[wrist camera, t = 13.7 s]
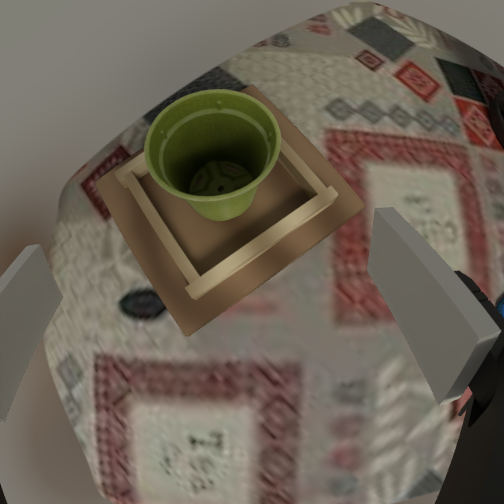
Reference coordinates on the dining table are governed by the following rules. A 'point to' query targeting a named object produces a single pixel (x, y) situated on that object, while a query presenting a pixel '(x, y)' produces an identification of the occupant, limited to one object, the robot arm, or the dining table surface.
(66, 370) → the dining table surface
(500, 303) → the smartphone
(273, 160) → the plant pot
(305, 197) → the pot stand
